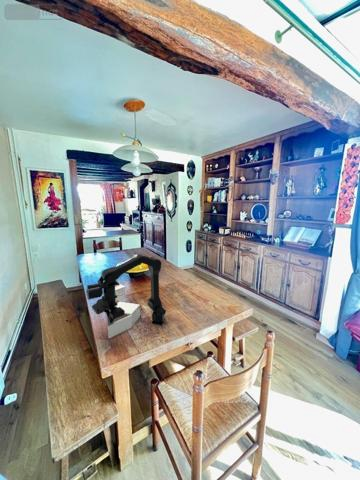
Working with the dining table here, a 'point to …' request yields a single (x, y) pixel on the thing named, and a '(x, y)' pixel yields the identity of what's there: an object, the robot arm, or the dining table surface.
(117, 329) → the front flap
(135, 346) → the dining table surface
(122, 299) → the ink cartridge box
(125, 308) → the carton
